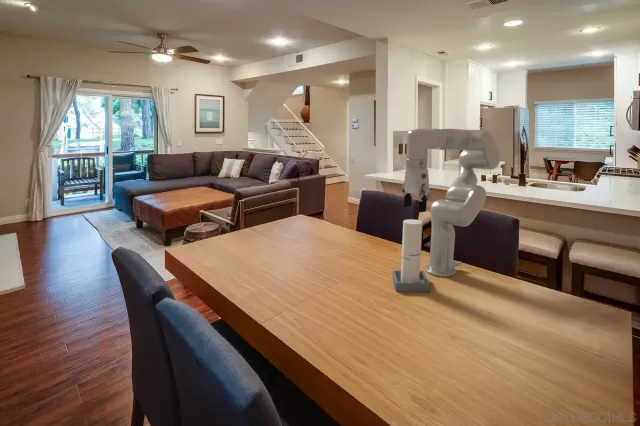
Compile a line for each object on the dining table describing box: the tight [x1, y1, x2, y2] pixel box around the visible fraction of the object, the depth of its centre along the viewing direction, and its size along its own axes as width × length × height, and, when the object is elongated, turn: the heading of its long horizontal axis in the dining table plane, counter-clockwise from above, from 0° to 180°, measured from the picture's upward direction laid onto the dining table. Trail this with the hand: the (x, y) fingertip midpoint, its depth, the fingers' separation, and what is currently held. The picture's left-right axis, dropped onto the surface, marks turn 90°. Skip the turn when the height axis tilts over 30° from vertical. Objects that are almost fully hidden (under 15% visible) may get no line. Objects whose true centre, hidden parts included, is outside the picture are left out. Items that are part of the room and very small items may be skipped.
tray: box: [392, 269, 431, 293], centre depth 144 cm, size 13×13×4 cm
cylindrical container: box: [400, 219, 423, 283], centre depth 141 cm, size 7×7×25 cm
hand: (414, 209), depth 137 cm, fingers open, 9 cm apart
